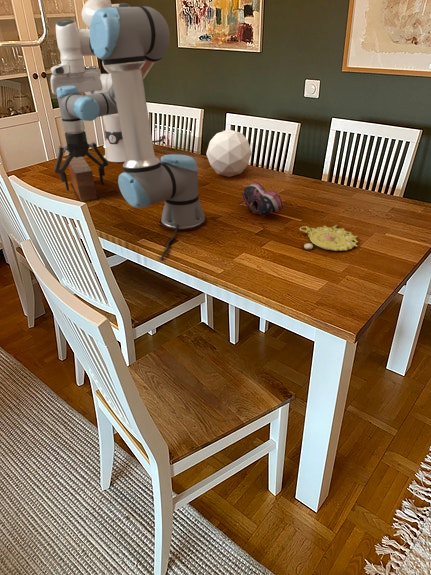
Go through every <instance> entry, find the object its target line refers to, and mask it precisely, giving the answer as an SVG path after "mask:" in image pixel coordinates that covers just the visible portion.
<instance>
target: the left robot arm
mask: <svg viewBox="0 0 431 575" xmlns="http://www.w3.org/2000/svg"><path fill="white" fill-rule="evenodd" d="M109 7H132V6H131V5H130V4H129V3H126V2H120V3H112V1H111V0H86V1H85V3H84V4H83V6H82V8H81V19H82V22H83V23H84V25H85V26H86V28H78V25H77V23H76V21H75V20H74V19H62V20H59V21H57V22H56V23H55V37H56V44H57V49H58V50H59V54H60V57H59V58H60V63H58V64H56V65H54V66H52V67H50V72H51V75H50V78H49V79H50V90H51V93H52V94H53V95H54V96H57V91H56V90H57V88H58V87H61V86H76V87H77V88H78V92H79V94H81V93H84V95H90V94H97V93H103V92H108V91H109V89H110V87H111V85H112V84H113V83H112V78H111V73H110V71H109V70H107V69H106V68H105V67H104V64H103V60H101V61H102V62H101V63H102V67H103V69H104V71H106V73H102V72H101V69H100V68H99V67H98V66H96V65H92V66H85V60H84V57H96V55H95V54H94V51H93V50H92V47H91V43H90V23H91V20H92V17H93V15H94V13H95V12H96V11H97V10H99V9H102V8H109ZM102 119H103V120H102V121H103V125H104V129H105V130H104V136H105V137H104V138H105V140H104V143H103V144H104V145H103V148H104V155H103V157H104V159H105V160H106V162H111V163H124V162H125V161H126V153H125V148H124V143H123V137H122V132H121V126H120V121H119V116H118V113H117V114H111V115H105V116H102ZM164 138H165V137H164V136H163V135H161V139H157V140H152V143H158V142H159V143H160V142H162V141H163V140H164Z"/></svg>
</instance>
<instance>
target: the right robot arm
mask: <svg viewBox="0 0 431 575" xmlns="http://www.w3.org/2000/svg"><path fill="white" fill-rule="evenodd" d="M170 33H171V32H170V28H169V25H168V23H167V20H166V19H165V17H164V16H163V15H162V14H161V13H160V12H159V11H158V10H156V9H155V8H153V7H151V6H144V5H143V6H142V5H141V6H131V7H109V8H102V9H99V10H97V11H96V12H95V13H94V15H93V17H92V20H91V23H90V43H91V47H92V50H93V51H94V54H95V55H96V56H95V57H96V58H97V59H100V60H101V61H102V60H103V64H104V67H105V68H106V69H107V70H109V71H110V73H111V78H112V83H113V84H112V85H111V87H110V89H109V91H108V92H103V93H97V94H90V95H86V94H83V95H82V94H80V93H79V92H78V88H77V87H76V86H61V87H58V88H57V90H56V91H57V95H56V96H57V98H56V100H57V102H58V108H59V112H60V116H61V122H62V127H63V132H65V133H64V137H65V142H66V146H62V145H59V146H58V155H57V158H56V162H55V166H54V168H53V169H54V173H55V174H59V175H60V180H61V181H62V182H61V183H64V184H65V188H66V191H70V186H69V184H68V182H69V181H68V177H67V173H66V172H65V171H66V170H67V168H68V165H69V163H70V161H71V160H72V159H73V157H76V158H77V157H83V158H84V157H85V156H87V157H88V158H89V159H91V160H92V162H94V163H95V164H96V165H97V169H98V174H99V181H100V184H101V186H104V185H105V182H104V176H106V172H105V167H107V166H109V163H108V161H107V159H106V158H104V155H103V154H102V153H101V151H100V150H99V149H98V146H97V143H96V141H92V142H91V143H89V142H88V138H87V133H86V131H85V130H86V127H85V126H86V125H85V121H86V122H93V121H94V120H96V119H97V118H98V117H99V118H101V117H103V116H105V115H111V114H117V113H118V116H119V121H120V126H121V132H122V137H123V143H124V148H125V153H126V161H125V162H123V164H122V170H123V172H121V173H120V174H119V175H118V179H117V182H118V183H117V184H118V188H119V191H120V194H121V195H122V197H123V198H124V200H125V202H126V203H127V204H128V205H129V206H130V207H132V208H134V209H143V208H148V207H150V206H153V205H155V204H159V203H162V202H164V204H163V209H162V213H161V219H160V220H161V225H162V227H163V228H165V229H167V230H170V231H174V233H173V235H172V237H171V238H169V239H168V241H167V242H166V248H165V250H164V251H163V252H162V254H161V256H160V262H162V261H164V258H165V255H166V253H167V252H168V251H169V249H170V243H171V242H172V241H174V239H175V238H176V237H177V233H178V232H185V231H186V232H187V231H192V230H195V229H198V228H201V227H202V226H203V225H204V224H205V223H206V216H205V212H204V210H203V208H202V204H201V202H200V196H199V175H198V172H199V170H198V164H197V163H198V162H197V160H196V159H195V158H194V157H192V156H191V155H190V156H189V155H187V154H186V155H185V154H172V153H171V154H165V155H162V156H161V158H158V157H157V156H156V155H155V151H154V144H153V143H154V142H152V141H153V137H152V131H151V130H152V129H151V123H150V118H149V110H148V104H147V98H146V94H145V93H146V92H145V86H144V80H145V78H146V76H147V74H148V73H149V71H150V70H151V69H152V68H153V66H154V64H155V63H158V62H160V61H161V60H162V58H163V57H164V56H165V54H166V53H167V51H168V48H169V45H170V40H171V34H170ZM103 64H102V65H103ZM104 67H103V68H104ZM90 148H91V149H92V150H94V152H95V153H96V155H97V156H98V157H99V159H100V160H101V161H100V160H98V159H97V158H96V157H95V156H94V155H92V154H91V153H90V152H89V149H90ZM66 151H67V152H68V154H67V157H66V158H65V160H64V162H63V163H62V161H63V157H64V154H65V153H66ZM61 163H62V164H61ZM61 165H62V166H61Z"/></svg>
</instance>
